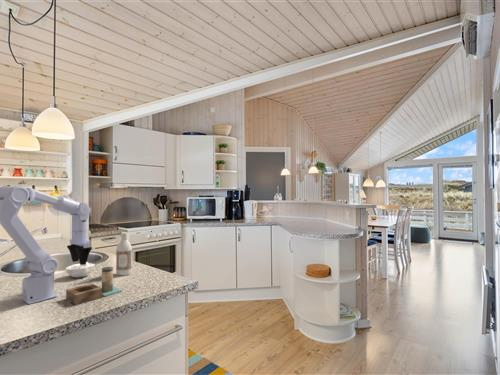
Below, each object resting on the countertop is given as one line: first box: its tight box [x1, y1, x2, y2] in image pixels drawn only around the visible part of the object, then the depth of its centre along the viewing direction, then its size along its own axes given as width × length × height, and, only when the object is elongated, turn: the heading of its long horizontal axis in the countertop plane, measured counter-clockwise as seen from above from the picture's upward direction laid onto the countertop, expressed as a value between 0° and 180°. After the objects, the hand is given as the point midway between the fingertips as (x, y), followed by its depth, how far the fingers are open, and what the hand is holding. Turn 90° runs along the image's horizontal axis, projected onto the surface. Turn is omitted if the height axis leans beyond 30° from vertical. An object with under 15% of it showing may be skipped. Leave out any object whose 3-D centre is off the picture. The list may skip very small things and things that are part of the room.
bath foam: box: [115, 231, 133, 277], centre depth 140 cm, size 7×7×20 cm
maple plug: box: [101, 266, 114, 292], centre depth 115 cm, size 4×4×9 cm
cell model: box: [65, 261, 96, 278], centre depth 135 cm, size 10×12×7 cm
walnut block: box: [65, 283, 103, 306], centre depth 108 cm, size 9×9×4 cm
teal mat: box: [102, 286, 123, 298], centre depth 115 cm, size 7×9×1 cm
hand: (79, 262), depth 122 cm, fingers open, 7 cm apart
